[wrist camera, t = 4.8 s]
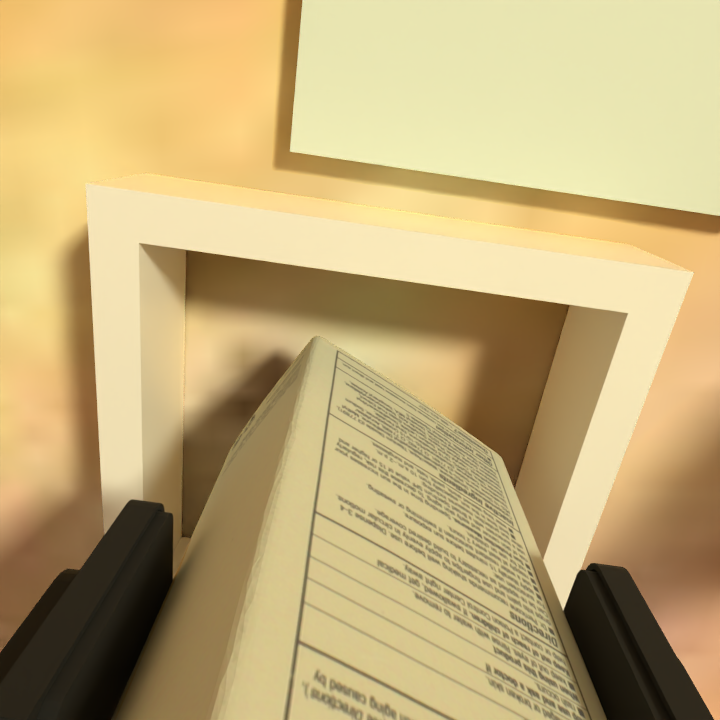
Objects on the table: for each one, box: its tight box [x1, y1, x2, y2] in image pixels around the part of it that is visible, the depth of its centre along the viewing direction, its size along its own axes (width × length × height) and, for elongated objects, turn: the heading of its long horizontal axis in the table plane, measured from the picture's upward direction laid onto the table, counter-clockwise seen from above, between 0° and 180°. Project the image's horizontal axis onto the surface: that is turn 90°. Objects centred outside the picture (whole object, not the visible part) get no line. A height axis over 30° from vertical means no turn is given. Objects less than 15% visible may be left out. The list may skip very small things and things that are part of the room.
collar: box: [86, 173, 694, 610], centre depth 14 cm, size 12×12×3 cm
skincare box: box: [111, 336, 607, 720], centre depth 9 cm, size 6×4×12 cm
